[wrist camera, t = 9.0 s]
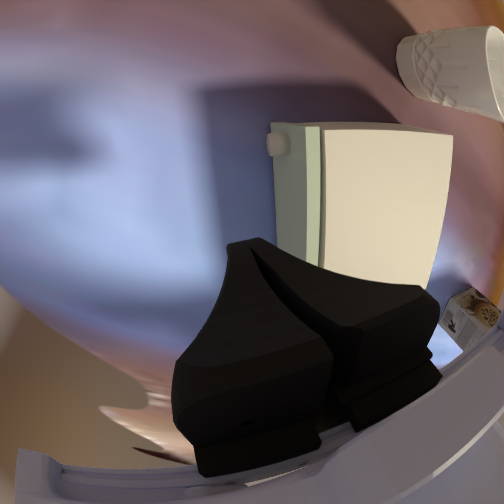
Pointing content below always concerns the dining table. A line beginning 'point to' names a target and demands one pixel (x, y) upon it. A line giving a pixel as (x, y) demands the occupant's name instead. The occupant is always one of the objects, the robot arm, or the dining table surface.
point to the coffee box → (468, 317)
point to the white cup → (456, 68)
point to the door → (296, 187)
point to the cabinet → (382, 199)
